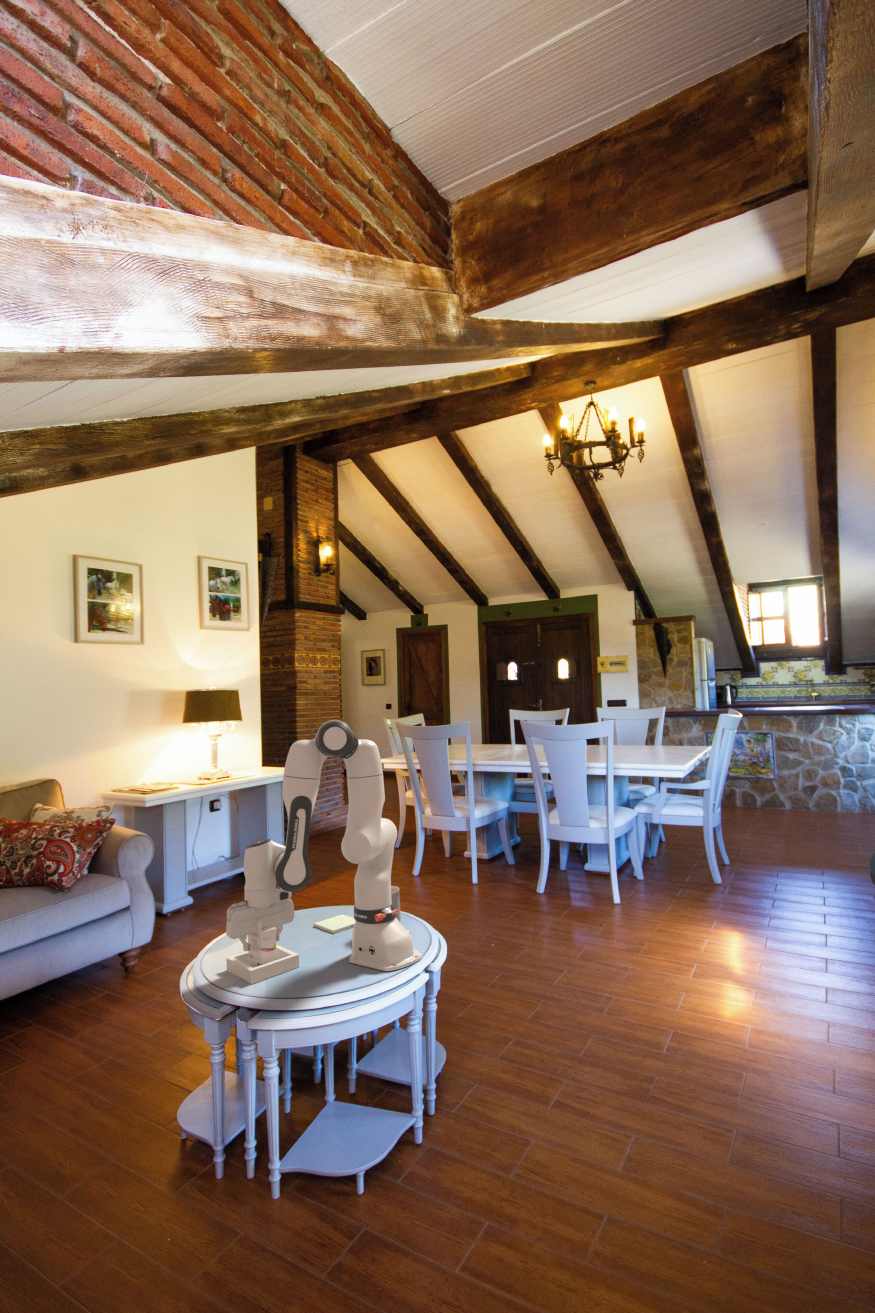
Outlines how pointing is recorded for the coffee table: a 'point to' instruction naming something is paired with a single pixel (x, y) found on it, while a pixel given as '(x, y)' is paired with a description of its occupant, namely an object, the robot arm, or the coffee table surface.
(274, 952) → the ink cartridge box
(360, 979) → the coffee table surface
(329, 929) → the cream square pad
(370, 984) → the coffee table surface
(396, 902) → the pillar candle
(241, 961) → the cartridge dock
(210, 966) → the coffee table surface
